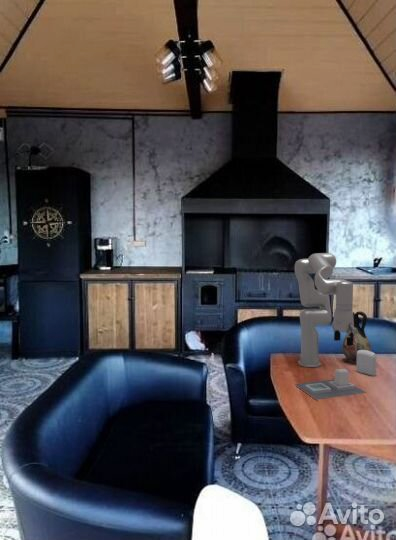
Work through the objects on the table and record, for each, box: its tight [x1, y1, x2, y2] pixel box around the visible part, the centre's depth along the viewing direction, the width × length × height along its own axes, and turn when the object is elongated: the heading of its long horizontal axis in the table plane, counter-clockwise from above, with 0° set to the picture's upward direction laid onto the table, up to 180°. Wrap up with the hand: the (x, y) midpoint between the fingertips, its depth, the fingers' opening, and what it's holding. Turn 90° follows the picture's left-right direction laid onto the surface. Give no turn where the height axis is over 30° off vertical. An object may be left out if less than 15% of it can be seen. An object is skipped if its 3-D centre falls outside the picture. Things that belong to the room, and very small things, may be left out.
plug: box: [334, 368, 350, 387], centre depth 208 cm, size 4×6×8 cm
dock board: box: [294, 378, 367, 402], centre depth 206 cm, size 20×26×2 cm
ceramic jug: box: [341, 311, 372, 364], centre depth 248 cm, size 17×15×30 cm
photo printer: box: [355, 350, 377, 377], centre depth 229 cm, size 10×4×12 cm, turn 39°
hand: (343, 342), depth 206 cm, fingers open, 9 cm apart
